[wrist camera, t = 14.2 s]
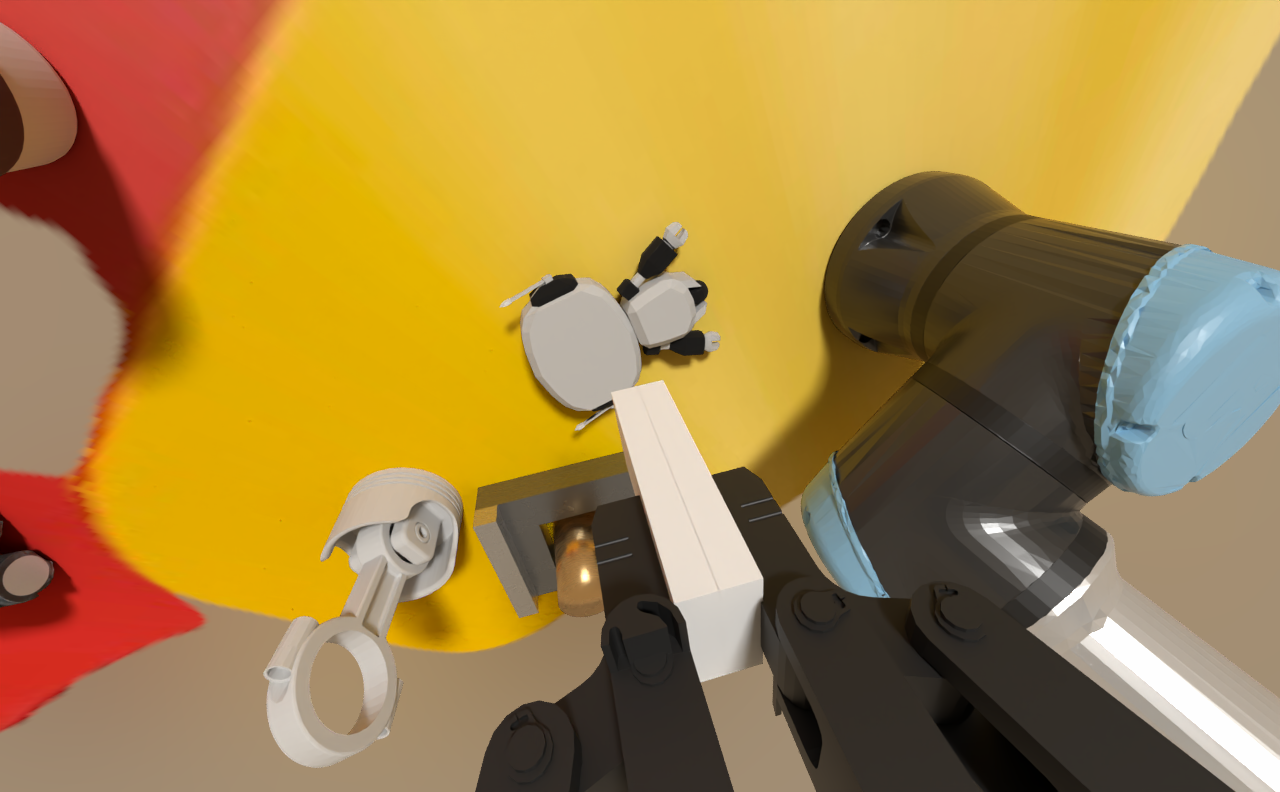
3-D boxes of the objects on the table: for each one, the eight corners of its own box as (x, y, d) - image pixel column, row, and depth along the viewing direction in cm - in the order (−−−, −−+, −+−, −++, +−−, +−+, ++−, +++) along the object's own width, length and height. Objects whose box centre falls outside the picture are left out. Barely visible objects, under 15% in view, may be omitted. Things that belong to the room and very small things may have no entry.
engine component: (398, 559, 47) (484, 516, 46) (325, 818, 29) (459, 755, 29) (312, 494, 40) (409, 443, 40) (156, 772, 23) (321, 690, 23)
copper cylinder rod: (595, 492, 47) (610, 573, 39) (603, 525, 50) (619, 607, 42) (547, 505, 47) (552, 589, 38) (558, 537, 49) (565, 623, 41)
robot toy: (669, 204, 35) (491, 291, 34) (691, 214, 31) (492, 311, 31) (712, 337, 42) (564, 410, 41) (734, 357, 38) (572, 439, 38)
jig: (640, 447, 45) (651, 481, 41) (657, 539, 53) (668, 576, 49) (477, 487, 44) (472, 527, 40) (519, 576, 51) (519, 617, 47)
